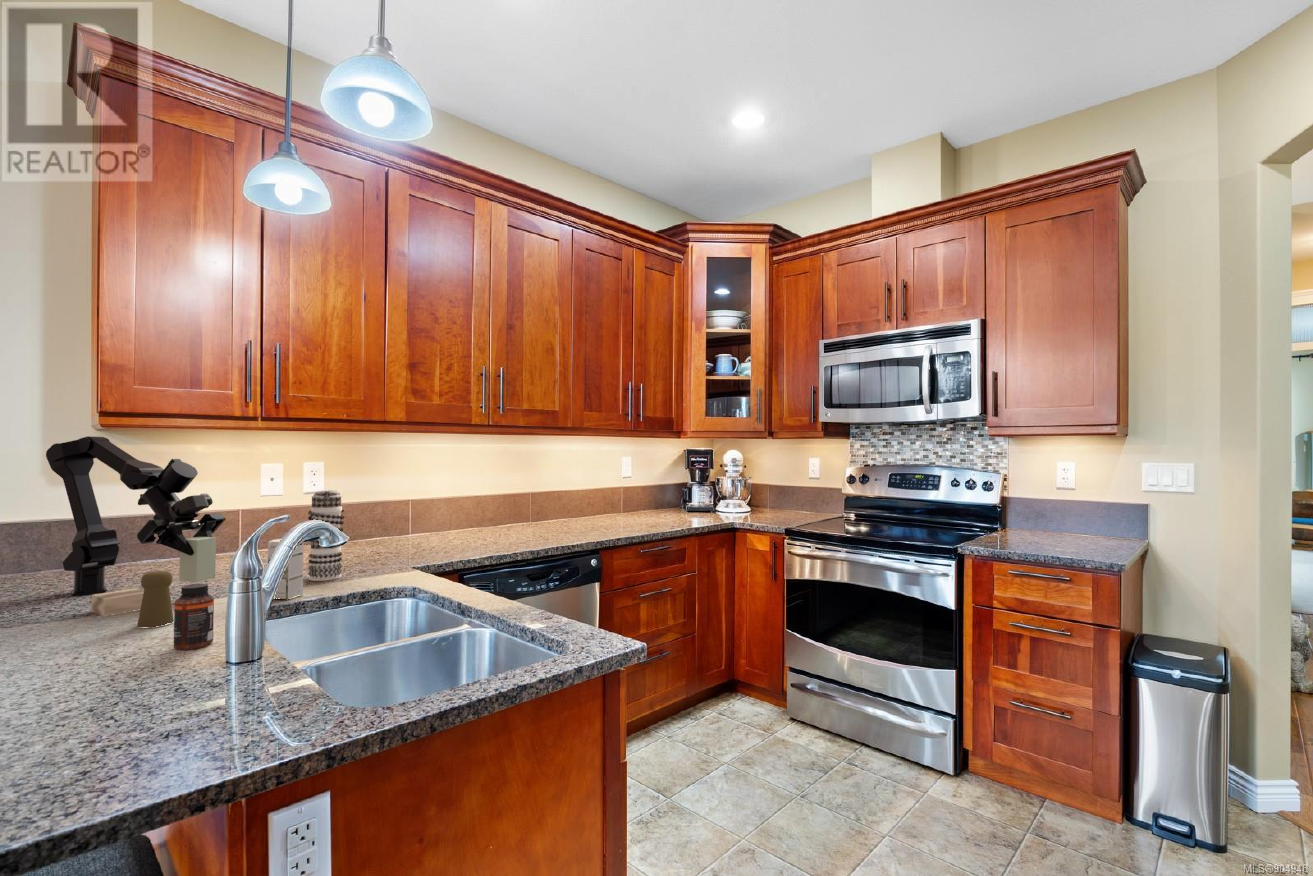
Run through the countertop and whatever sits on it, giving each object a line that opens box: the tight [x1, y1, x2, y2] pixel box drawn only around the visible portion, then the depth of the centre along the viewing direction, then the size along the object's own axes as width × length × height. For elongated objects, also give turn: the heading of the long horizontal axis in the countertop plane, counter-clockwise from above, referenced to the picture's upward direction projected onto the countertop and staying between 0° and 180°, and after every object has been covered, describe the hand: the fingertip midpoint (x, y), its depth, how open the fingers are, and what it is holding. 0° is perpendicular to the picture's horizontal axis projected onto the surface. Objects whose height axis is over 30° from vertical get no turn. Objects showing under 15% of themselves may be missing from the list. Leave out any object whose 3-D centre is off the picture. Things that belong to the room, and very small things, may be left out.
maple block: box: [90, 588, 144, 617], centre depth 140 cm, size 8×8×4 cm
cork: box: [136, 570, 174, 628], centre depth 129 cm, size 6×6×11 cm
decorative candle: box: [307, 490, 345, 582], centre depth 177 cm, size 9×9×25 cm
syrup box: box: [267, 537, 304, 601], centre depth 153 cm, size 6×6×14 cm
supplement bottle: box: [173, 583, 215, 651], centre depth 115 cm, size 6×6×11 cm
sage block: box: [178, 536, 217, 583], centre depth 150 cm, size 5×5×10 cm
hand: (202, 552), depth 150 cm, fingers closed on sage block, 5 cm apart
